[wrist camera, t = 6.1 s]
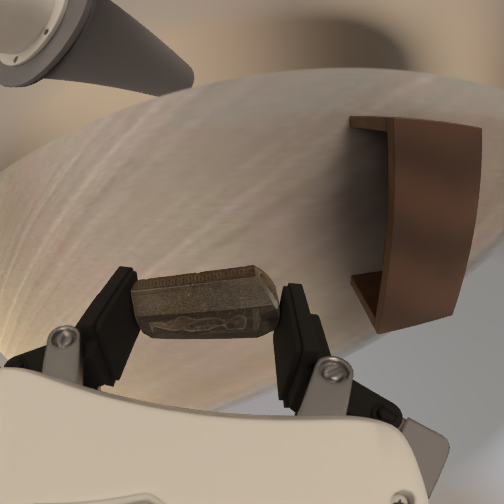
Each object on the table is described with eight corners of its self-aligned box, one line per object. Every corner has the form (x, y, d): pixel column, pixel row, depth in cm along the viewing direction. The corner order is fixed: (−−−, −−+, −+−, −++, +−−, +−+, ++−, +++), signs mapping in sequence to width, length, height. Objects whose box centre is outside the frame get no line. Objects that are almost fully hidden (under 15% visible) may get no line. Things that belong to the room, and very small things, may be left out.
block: (137, 268, 12) (122, 291, 10) (275, 257, 11) (280, 281, 10) (158, 331, 13) (148, 357, 12) (278, 325, 13) (282, 352, 11)
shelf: (349, 116, 25) (393, 117, 16) (426, 120, 25) (482, 128, 16) (350, 283, 34) (377, 334, 25) (416, 272, 33) (452, 315, 25)
